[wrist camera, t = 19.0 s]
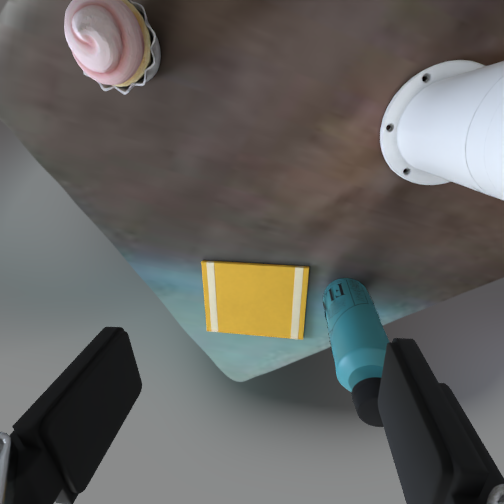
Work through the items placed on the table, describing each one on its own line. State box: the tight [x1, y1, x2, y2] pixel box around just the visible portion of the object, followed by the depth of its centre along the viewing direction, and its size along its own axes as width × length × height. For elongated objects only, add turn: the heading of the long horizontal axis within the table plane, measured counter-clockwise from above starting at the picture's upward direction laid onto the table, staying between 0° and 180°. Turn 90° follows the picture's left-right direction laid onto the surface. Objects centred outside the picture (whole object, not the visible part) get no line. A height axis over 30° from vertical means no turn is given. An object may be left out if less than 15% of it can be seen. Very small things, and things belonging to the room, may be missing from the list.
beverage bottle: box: [322, 278, 390, 427], centre depth 34 cm, size 6×7×20 cm
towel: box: [201, 260, 309, 340], centre depth 45 cm, size 16×13×1 cm
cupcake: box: [64, 0, 161, 95], centre depth 29 cm, size 9×9×10 cm
